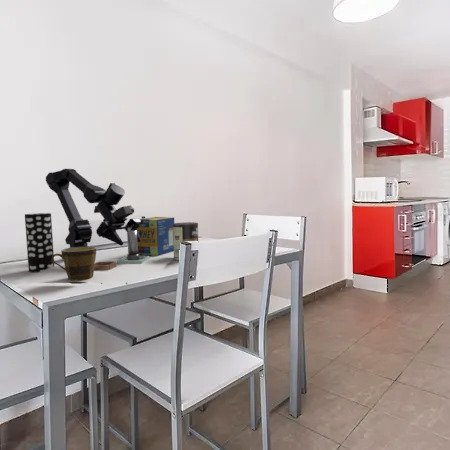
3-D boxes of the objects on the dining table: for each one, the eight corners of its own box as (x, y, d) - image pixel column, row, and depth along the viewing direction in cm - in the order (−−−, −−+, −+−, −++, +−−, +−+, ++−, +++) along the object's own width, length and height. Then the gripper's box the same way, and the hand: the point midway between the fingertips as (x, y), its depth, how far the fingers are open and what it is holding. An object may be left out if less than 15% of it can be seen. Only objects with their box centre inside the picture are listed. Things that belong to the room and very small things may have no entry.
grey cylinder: (127, 263, 139) (126, 231, 138) (127, 261, 143) (125, 230, 142) (140, 262, 140) (138, 230, 139) (139, 260, 144) (137, 229, 143)
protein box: (136, 255, 161) (135, 219, 160) (156, 249, 175) (155, 216, 174) (157, 256, 157) (156, 219, 156) (176, 250, 171) (174, 216, 170)
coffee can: (202, 256, 155) (201, 222, 154) (195, 260, 145) (194, 224, 143) (178, 255, 157) (177, 222, 156) (169, 260, 147) (168, 224, 146)
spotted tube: (28, 273, 128) (24, 215, 126) (28, 269, 135) (24, 214, 134) (55, 270, 132) (51, 213, 130) (53, 266, 139) (50, 212, 137)
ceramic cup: (90, 275, 122) (88, 245, 121) (103, 281, 114) (101, 248, 113) (48, 283, 113) (46, 250, 112) (59, 288, 106) (56, 253, 105)
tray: (116, 266, 137) (116, 260, 137) (126, 261, 147) (125, 256, 147) (142, 265, 136) (141, 260, 136) (149, 261, 146) (149, 256, 146)
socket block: (90, 272, 126) (90, 265, 126) (99, 268, 133) (98, 261, 133) (109, 272, 126) (109, 265, 126) (117, 268, 132) (116, 261, 132)
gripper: (100, 199, 134) (123, 231, 130) (137, 198, 150) (159, 226, 146) (86, 220, 139) (108, 252, 135) (123, 217, 155) (144, 245, 151)
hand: (131, 243), depth 141 cm, fingers open, 9 cm apart
